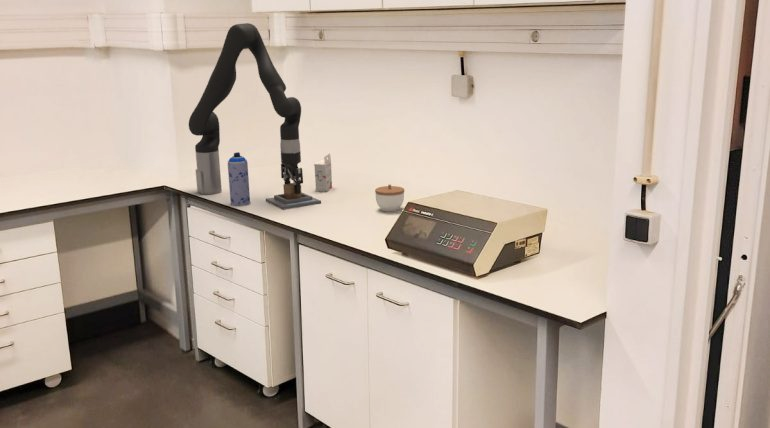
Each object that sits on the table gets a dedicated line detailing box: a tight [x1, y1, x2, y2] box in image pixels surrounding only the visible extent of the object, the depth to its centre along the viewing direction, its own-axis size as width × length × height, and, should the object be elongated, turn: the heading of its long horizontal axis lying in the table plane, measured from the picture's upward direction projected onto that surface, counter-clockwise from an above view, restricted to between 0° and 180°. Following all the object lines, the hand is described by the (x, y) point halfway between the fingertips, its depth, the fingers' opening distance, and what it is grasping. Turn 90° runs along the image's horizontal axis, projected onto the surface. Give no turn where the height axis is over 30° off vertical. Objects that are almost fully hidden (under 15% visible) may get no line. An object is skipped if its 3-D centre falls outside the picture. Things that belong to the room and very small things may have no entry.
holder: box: [265, 191, 322, 210], centre depth 277 cm, size 16×16×2 cm
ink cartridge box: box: [313, 153, 333, 193], centre depth 296 cm, size 9×5×15 cm, turn 168°
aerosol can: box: [227, 151, 252, 207], centre depth 274 cm, size 8×8×20 cm
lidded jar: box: [374, 184, 405, 213], centre depth 263 cm, size 11×11×9 cm
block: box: [282, 182, 302, 200], centre depth 277 cm, size 5×5×6 cm
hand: (292, 192), depth 277 cm, fingers open, 8 cm apart
